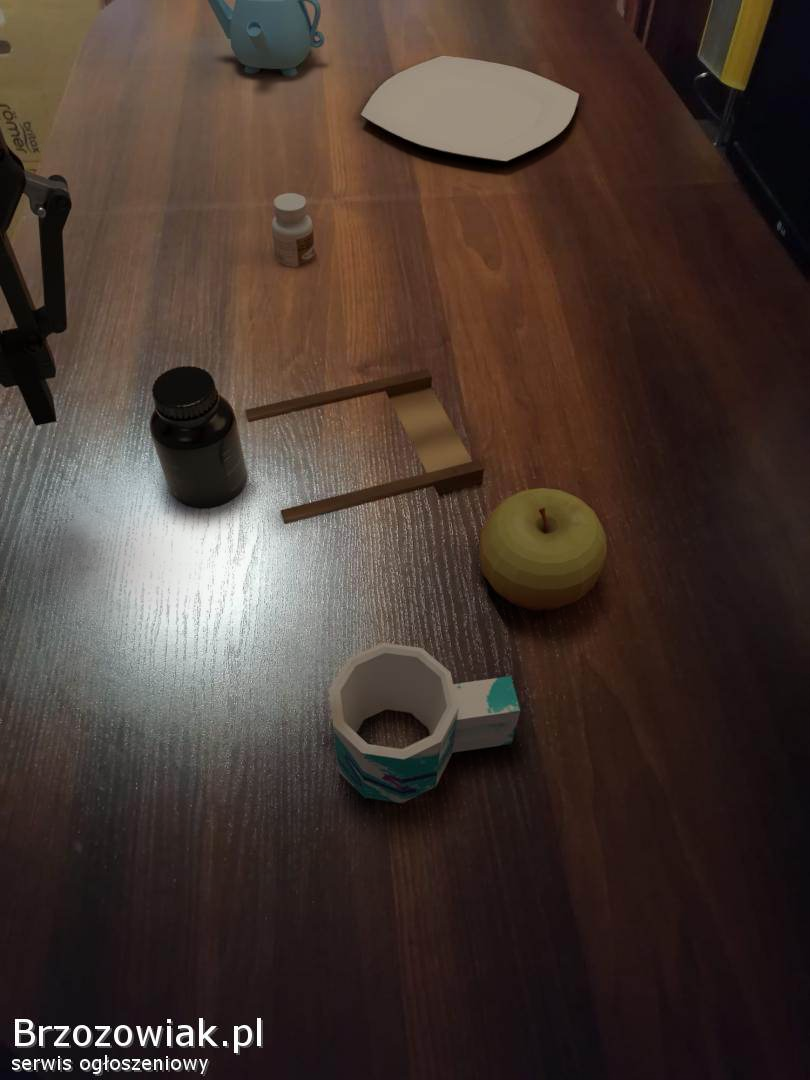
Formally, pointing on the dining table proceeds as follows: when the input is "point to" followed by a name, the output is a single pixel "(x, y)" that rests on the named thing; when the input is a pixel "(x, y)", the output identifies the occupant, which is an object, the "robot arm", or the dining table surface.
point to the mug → (428, 694)
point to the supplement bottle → (196, 439)
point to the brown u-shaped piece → (422, 426)
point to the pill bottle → (292, 231)
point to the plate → (472, 108)
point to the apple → (542, 549)
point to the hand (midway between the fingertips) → (44, 411)
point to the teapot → (269, 32)
